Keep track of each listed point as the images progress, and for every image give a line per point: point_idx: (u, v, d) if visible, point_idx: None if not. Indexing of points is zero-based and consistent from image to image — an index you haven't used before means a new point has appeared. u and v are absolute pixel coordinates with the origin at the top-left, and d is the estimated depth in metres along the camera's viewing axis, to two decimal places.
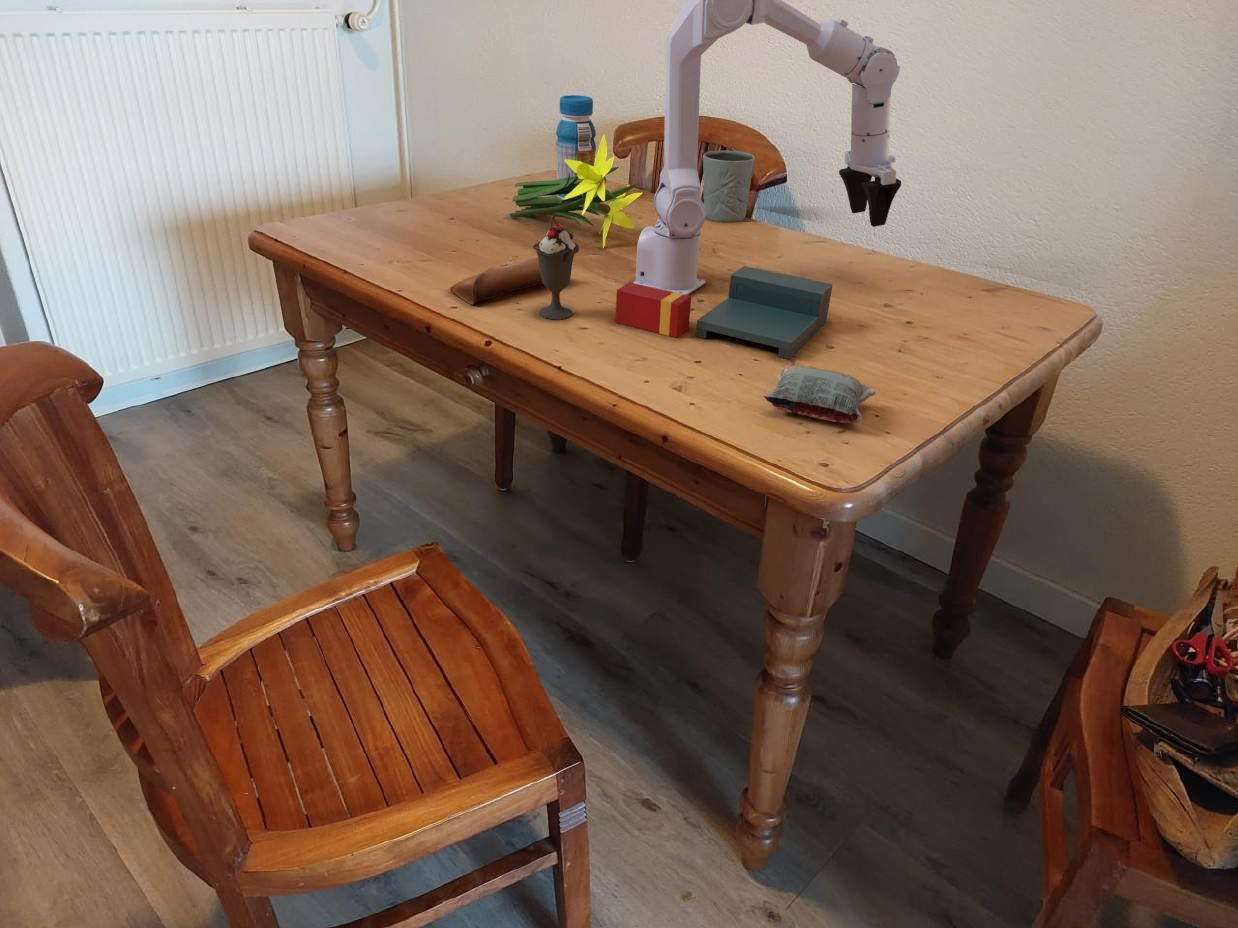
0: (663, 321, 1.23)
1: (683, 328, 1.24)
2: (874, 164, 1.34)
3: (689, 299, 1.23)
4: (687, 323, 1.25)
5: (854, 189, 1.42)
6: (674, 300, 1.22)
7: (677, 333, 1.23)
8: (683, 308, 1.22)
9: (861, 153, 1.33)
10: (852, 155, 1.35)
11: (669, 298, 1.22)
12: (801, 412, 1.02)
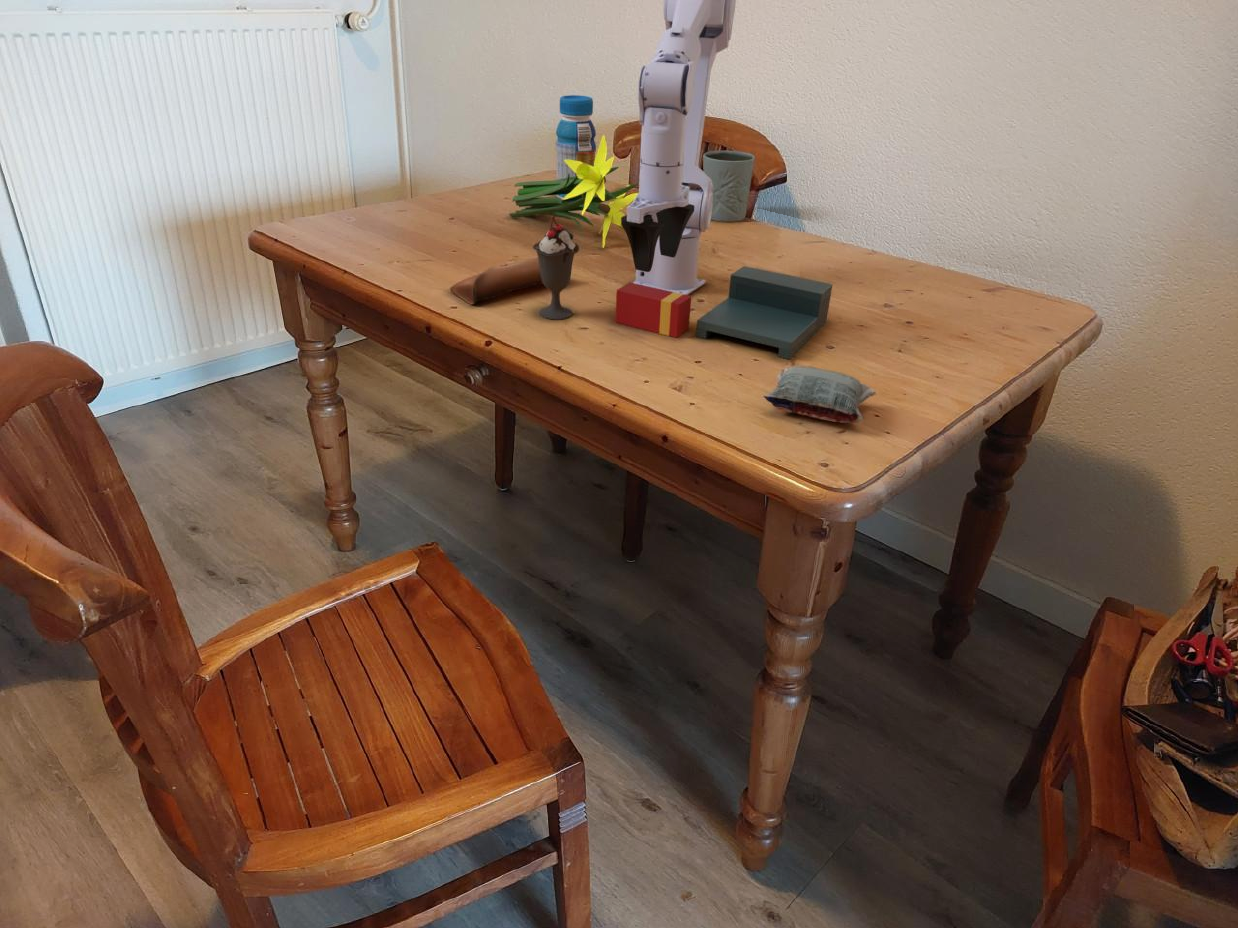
0: (663, 321, 1.23)
1: (683, 328, 1.24)
2: (646, 199, 1.15)
3: (689, 299, 1.23)
4: (687, 323, 1.25)
5: (664, 227, 1.23)
6: (674, 300, 1.22)
7: (677, 333, 1.23)
8: (683, 308, 1.22)
9: (639, 182, 1.15)
10: None
11: (669, 298, 1.22)
12: (801, 412, 1.02)
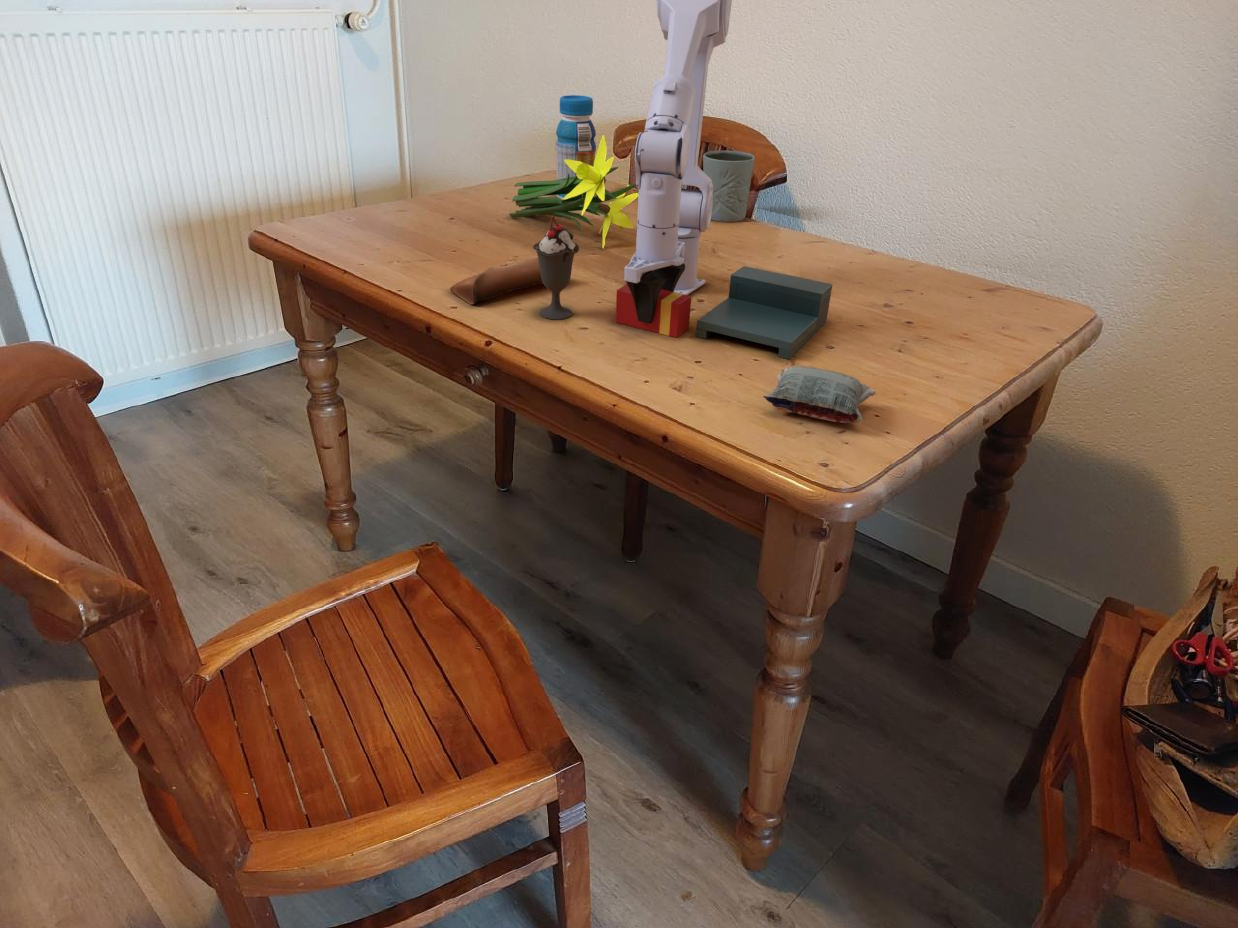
0: (663, 321, 1.23)
1: (683, 328, 1.24)
2: (643, 258, 1.19)
3: (689, 299, 1.23)
4: (687, 323, 1.25)
5: None
6: (674, 300, 1.22)
7: (677, 333, 1.23)
8: (683, 308, 1.22)
9: (636, 242, 1.19)
10: None
11: (669, 298, 1.22)
12: (801, 412, 1.02)
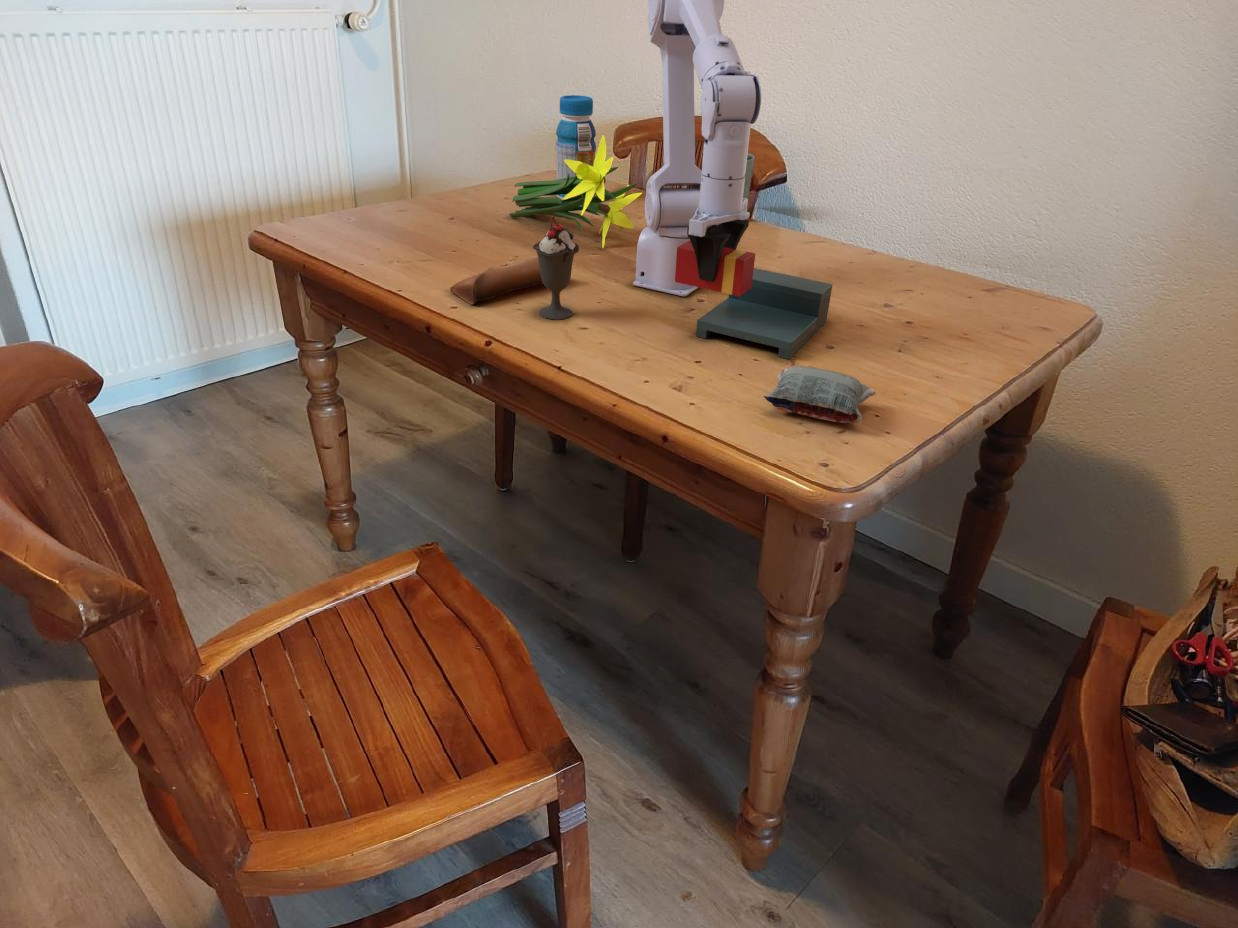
0: (726, 279, 1.18)
1: (746, 287, 1.19)
2: (708, 211, 1.14)
3: (753, 256, 1.18)
4: (750, 282, 1.20)
5: None
6: (738, 257, 1.17)
7: (741, 292, 1.18)
8: (748, 266, 1.17)
9: (700, 195, 1.15)
10: None
11: (733, 255, 1.17)
12: (801, 412, 1.02)
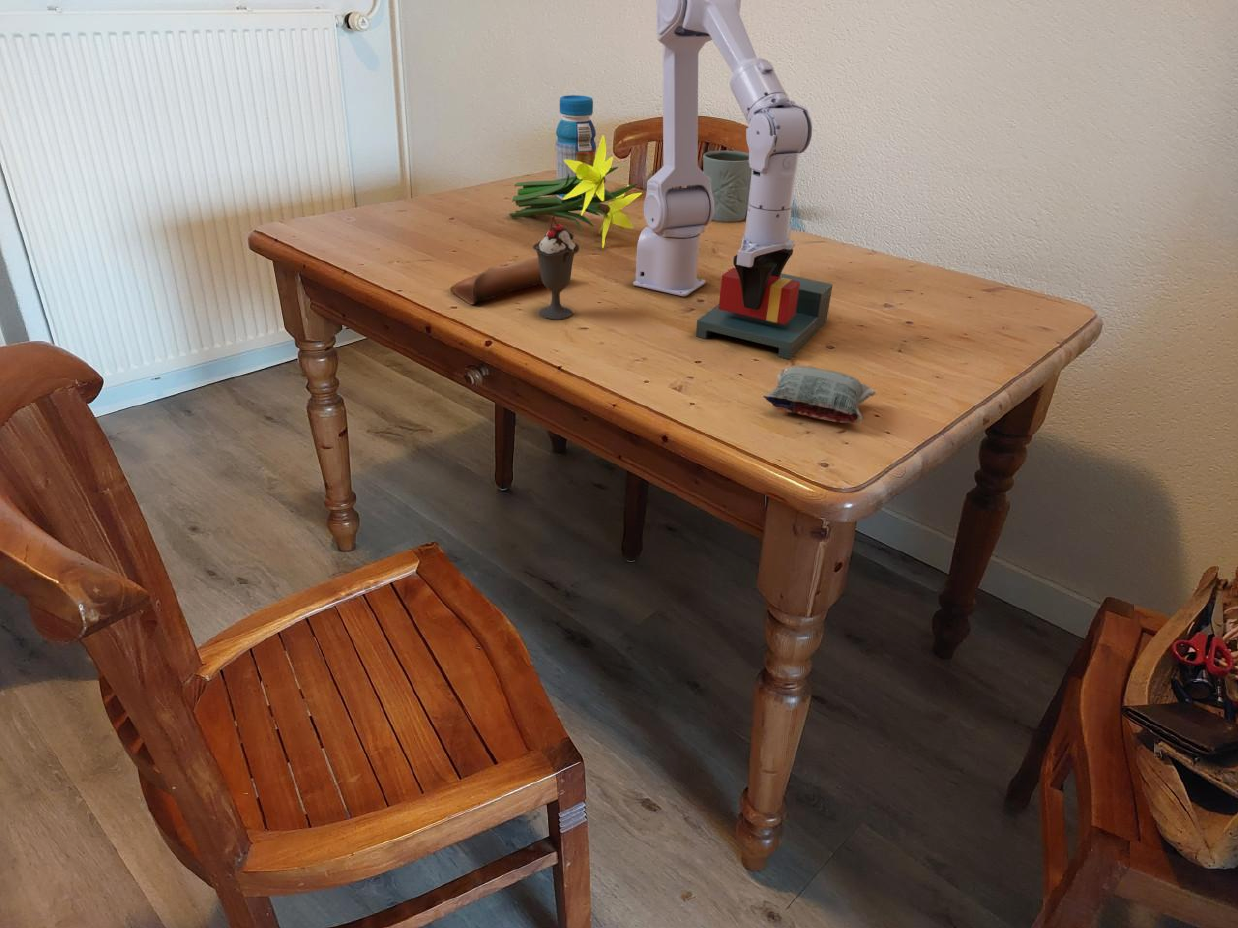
0: (771, 307, 1.19)
1: (791, 315, 1.20)
2: (754, 241, 1.15)
3: (798, 285, 1.19)
4: (794, 310, 1.21)
5: None
6: (784, 285, 1.17)
7: (786, 320, 1.19)
8: (793, 294, 1.18)
9: (747, 225, 1.15)
10: None
11: (778, 283, 1.18)
12: (801, 412, 1.02)
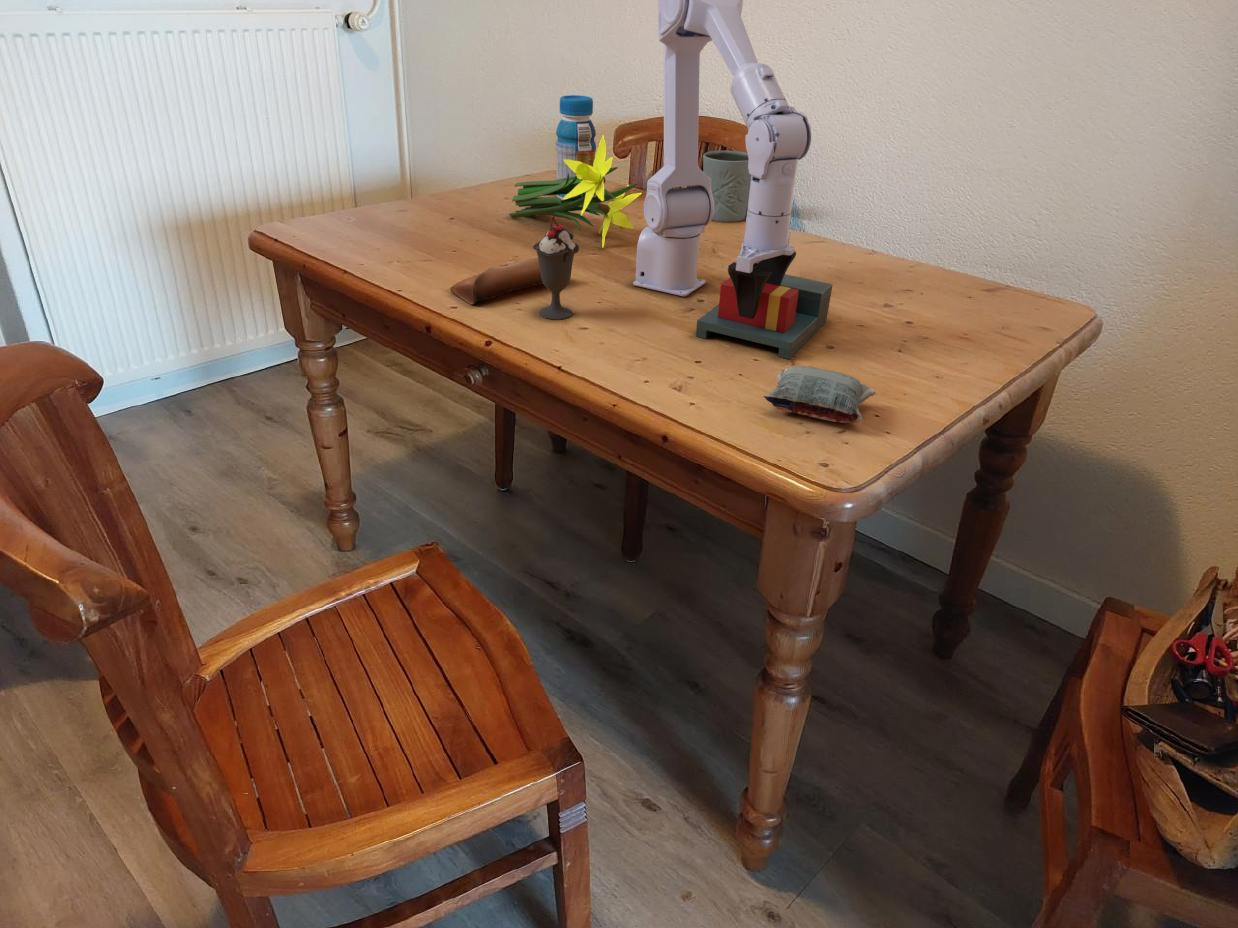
0: (770, 316, 1.19)
1: (790, 323, 1.21)
2: (754, 247, 1.15)
3: (797, 293, 1.19)
4: (793, 318, 1.21)
5: None
6: (783, 294, 1.18)
7: (785, 328, 1.19)
8: (792, 303, 1.19)
9: (746, 230, 1.16)
10: None
11: (777, 292, 1.18)
12: (801, 412, 1.02)
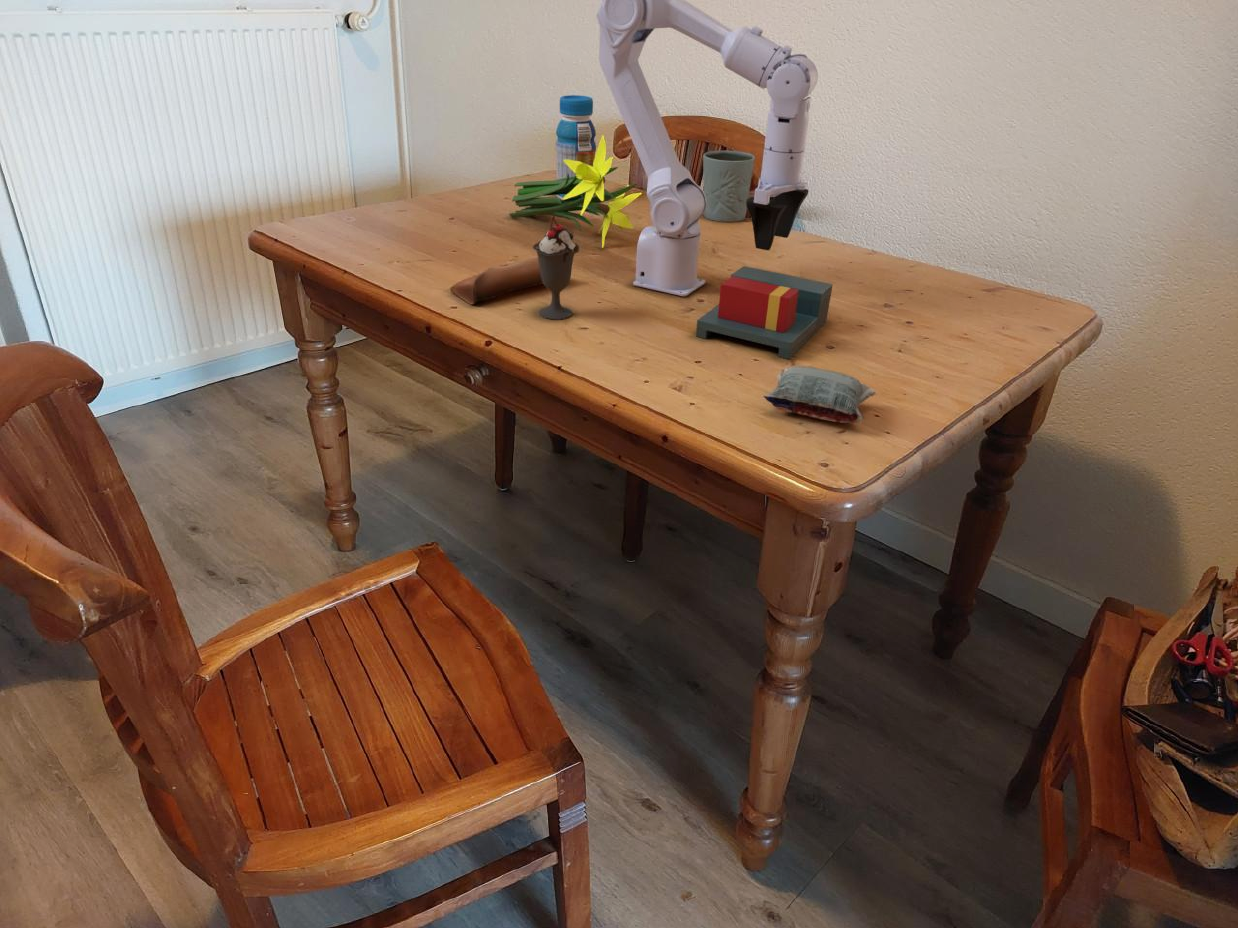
0: (770, 316, 1.19)
1: (790, 323, 1.21)
2: (770, 182, 1.25)
3: (797, 293, 1.19)
4: (793, 318, 1.21)
5: None
6: (783, 294, 1.18)
7: (785, 328, 1.19)
8: (792, 303, 1.19)
9: (763, 167, 1.25)
10: None
11: (777, 292, 1.18)
12: (801, 412, 1.02)
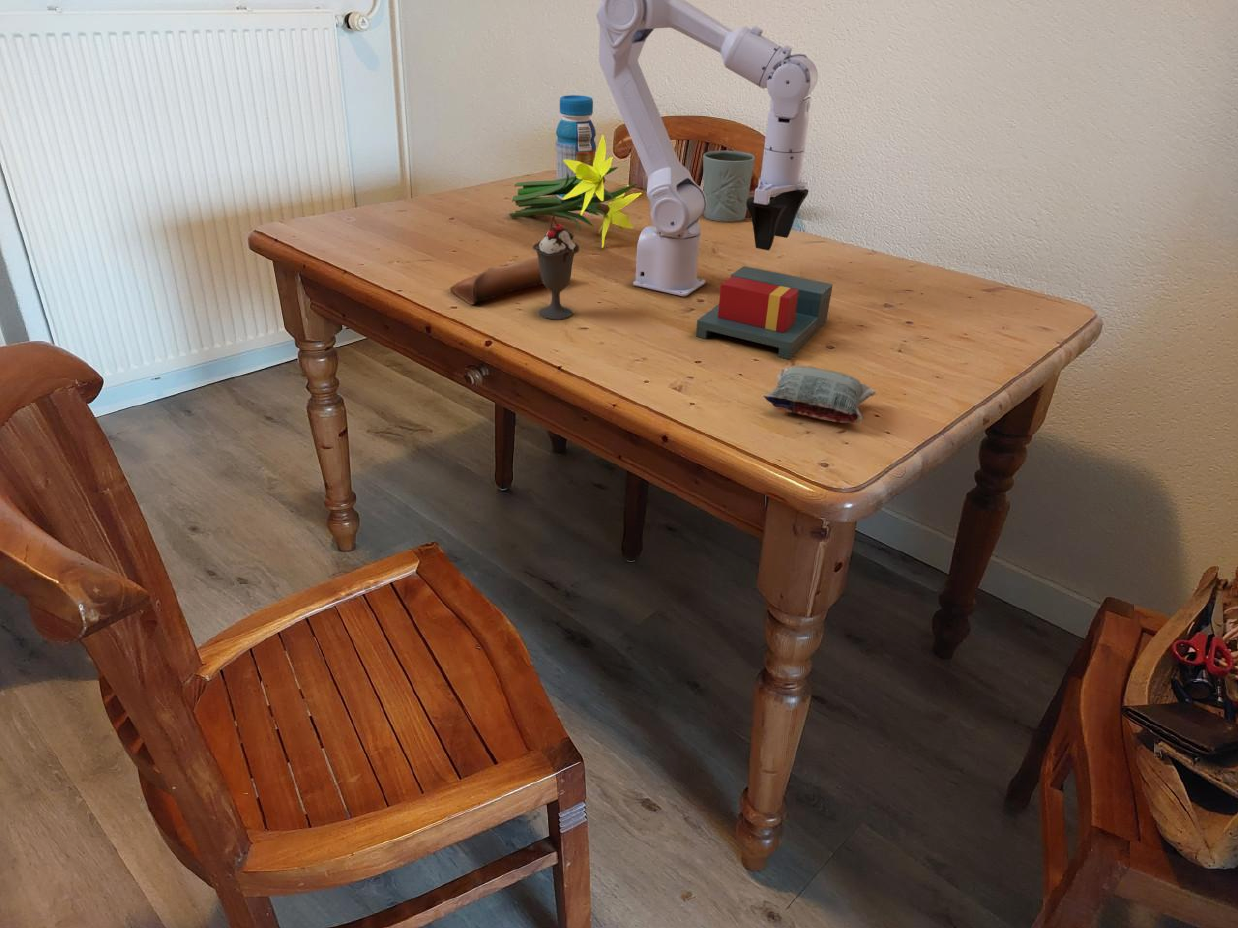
0: (770, 316, 1.19)
1: (790, 323, 1.21)
2: (770, 182, 1.25)
3: (797, 293, 1.19)
4: (793, 318, 1.21)
5: None
6: (783, 294, 1.18)
7: (785, 328, 1.19)
8: (792, 303, 1.19)
9: (763, 167, 1.26)
10: None
11: (777, 292, 1.18)
12: (801, 412, 1.02)
